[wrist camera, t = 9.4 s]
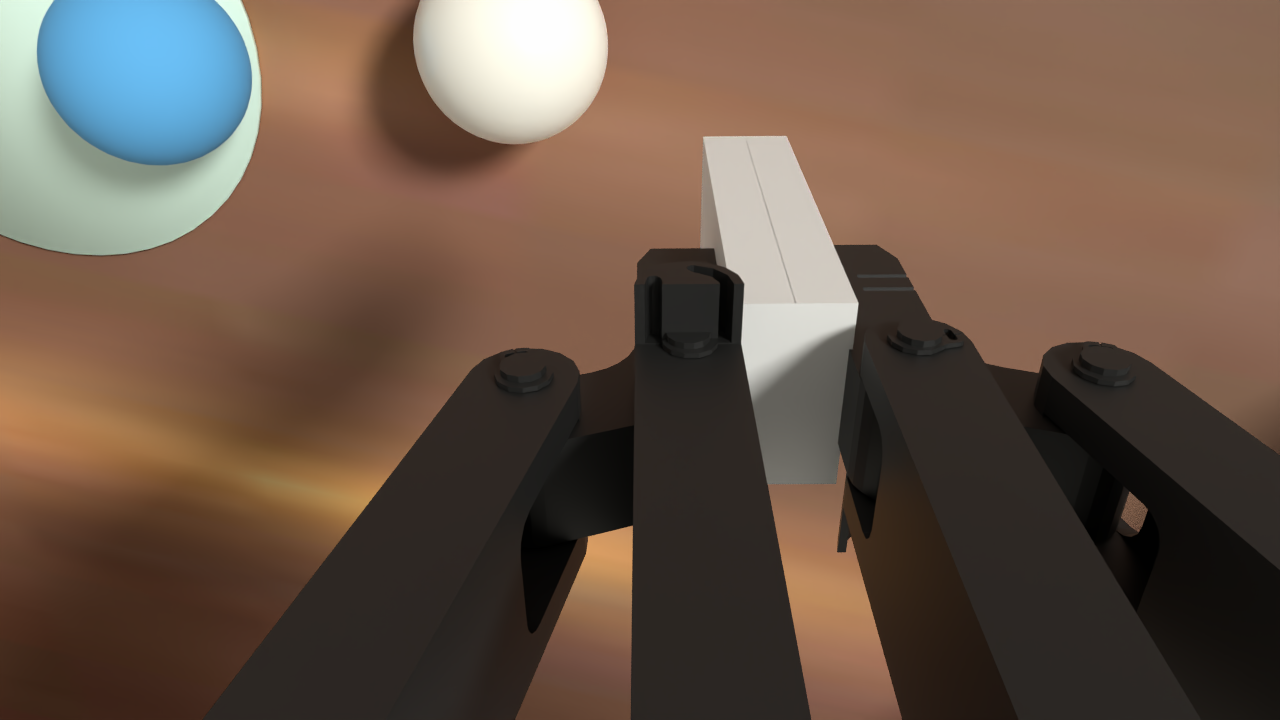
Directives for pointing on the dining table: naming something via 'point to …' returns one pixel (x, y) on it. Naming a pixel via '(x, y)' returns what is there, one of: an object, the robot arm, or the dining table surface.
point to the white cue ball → (511, 63)
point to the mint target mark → (100, 161)
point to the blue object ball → (145, 75)
